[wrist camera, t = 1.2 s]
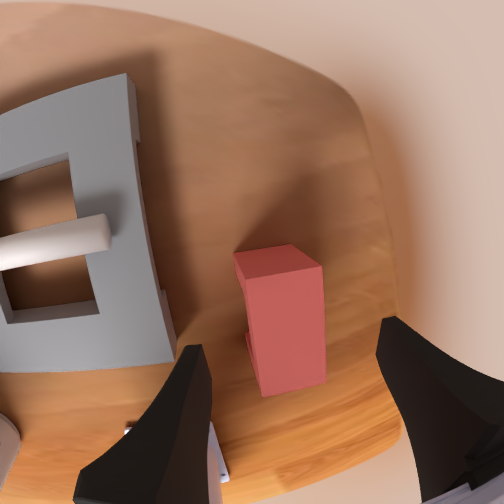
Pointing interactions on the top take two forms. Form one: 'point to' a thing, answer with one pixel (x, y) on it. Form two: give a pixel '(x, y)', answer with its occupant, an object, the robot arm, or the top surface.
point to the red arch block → (283, 317)
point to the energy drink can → (7, 447)
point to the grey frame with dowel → (86, 236)
